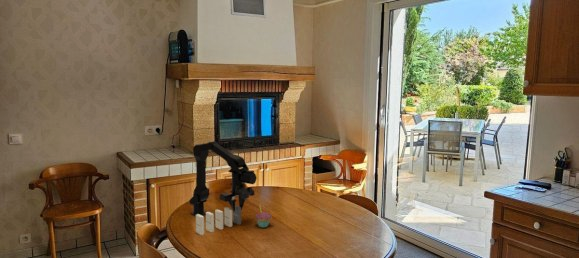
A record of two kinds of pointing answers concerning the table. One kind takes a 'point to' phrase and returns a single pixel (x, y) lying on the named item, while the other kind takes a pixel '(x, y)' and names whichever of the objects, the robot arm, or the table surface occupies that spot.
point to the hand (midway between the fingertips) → (237, 210)
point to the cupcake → (263, 218)
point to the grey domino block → (237, 215)
